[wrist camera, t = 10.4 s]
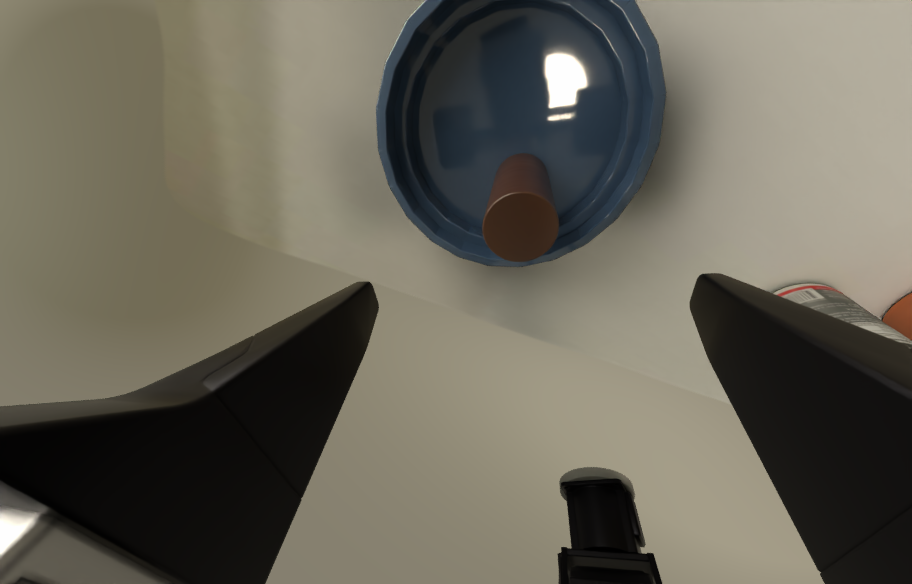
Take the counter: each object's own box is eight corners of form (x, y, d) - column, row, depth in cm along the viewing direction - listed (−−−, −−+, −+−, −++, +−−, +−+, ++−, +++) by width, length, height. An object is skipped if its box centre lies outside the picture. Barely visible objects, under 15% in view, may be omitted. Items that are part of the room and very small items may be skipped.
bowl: (460, 269, 23) (453, 294, 21) (352, 74, 17) (322, 75, 15) (663, 194, 18) (686, 215, 16) (603, -114, 12) (624, -163, 10)
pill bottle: (812, 342, 22) (944, 467, 15) (733, 336, 22) (825, 451, 16) (860, 283, 19) (1048, 401, 12) (768, 278, 20) (897, 386, 13)
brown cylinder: (506, 214, 20) (499, 272, 14) (486, 167, 18) (469, 211, 13) (555, 193, 18) (569, 247, 13) (537, 142, 17) (543, 178, 12)
